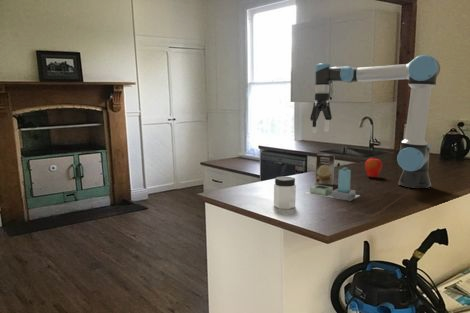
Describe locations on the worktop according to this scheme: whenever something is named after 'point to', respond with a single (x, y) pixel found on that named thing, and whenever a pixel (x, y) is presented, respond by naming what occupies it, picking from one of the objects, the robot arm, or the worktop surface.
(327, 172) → the coffee box
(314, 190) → the panel
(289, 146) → the worktop surface
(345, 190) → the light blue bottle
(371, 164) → the apple
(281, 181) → the jar
